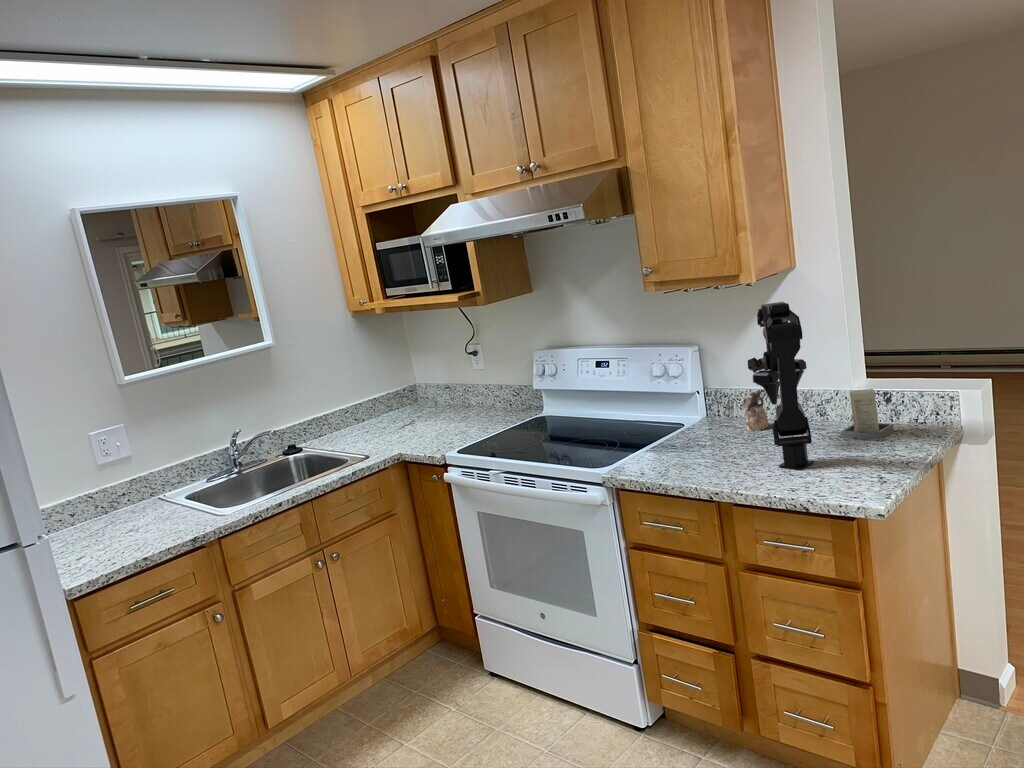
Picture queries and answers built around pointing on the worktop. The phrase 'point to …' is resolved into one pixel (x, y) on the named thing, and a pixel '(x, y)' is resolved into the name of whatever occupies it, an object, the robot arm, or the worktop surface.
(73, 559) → the worktop surface
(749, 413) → the figurine
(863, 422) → the skincare box
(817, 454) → the worktop surface
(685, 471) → the worktop surface
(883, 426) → the square gray open tray
